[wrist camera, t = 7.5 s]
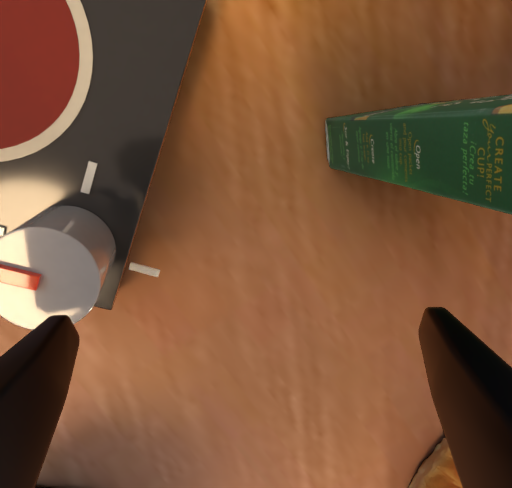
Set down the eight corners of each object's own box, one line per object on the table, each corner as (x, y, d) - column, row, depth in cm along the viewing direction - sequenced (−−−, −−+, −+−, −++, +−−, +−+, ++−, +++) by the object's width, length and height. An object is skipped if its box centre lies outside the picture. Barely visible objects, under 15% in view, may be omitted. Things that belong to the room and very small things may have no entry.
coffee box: (461, 95, 22) (815, 58, 10) (460, 148, 23) (784, 174, 11) (322, 115, 21) (526, 99, 9) (326, 169, 22) (517, 226, 10)
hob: (139, 323, 23) (134, 348, 20) (-175, 249, 19) (-229, 269, 16) (238, 17, 19) (248, 1, 17) (-120, -150, 15) (-178, -204, 13)
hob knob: (126, 221, 18) (111, 248, 14) (103, 299, 19) (83, 345, 15) (32, 193, 17) (-12, 214, 13) (12, 277, 18) (-36, 321, 14)
